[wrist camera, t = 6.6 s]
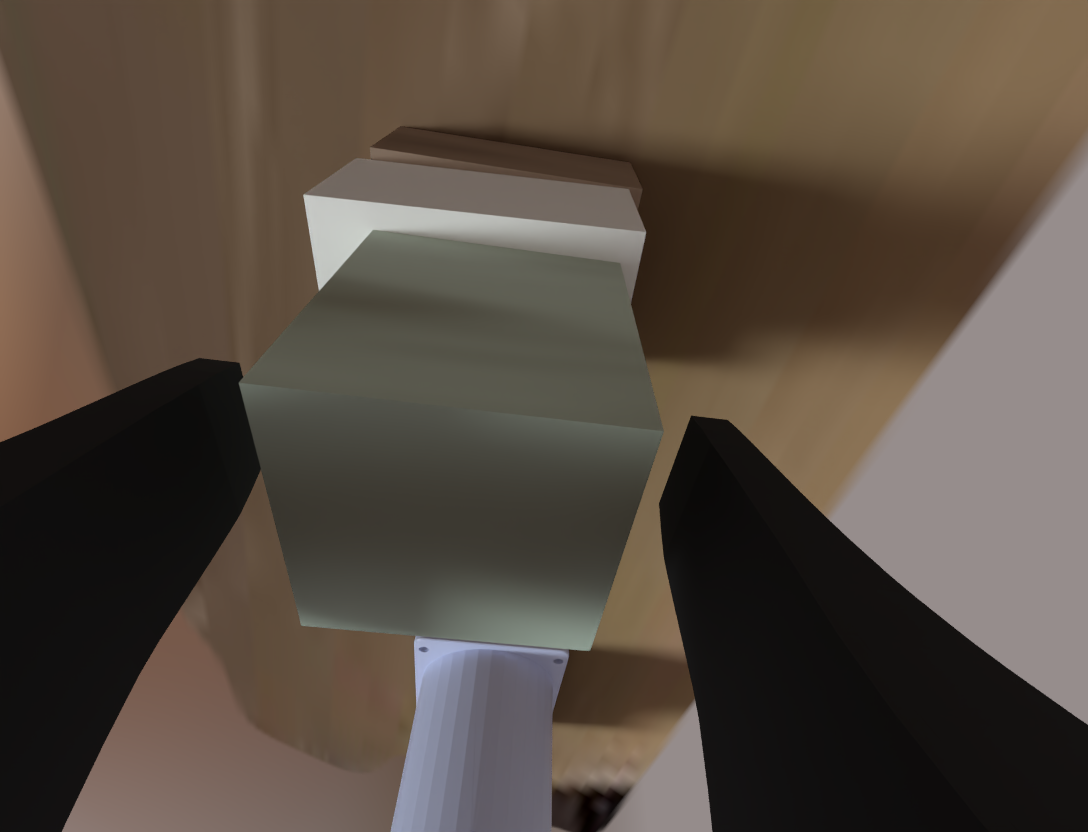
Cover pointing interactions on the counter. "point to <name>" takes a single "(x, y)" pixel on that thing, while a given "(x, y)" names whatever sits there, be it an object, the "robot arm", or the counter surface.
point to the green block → (456, 442)
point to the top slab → (471, 213)
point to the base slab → (503, 159)
